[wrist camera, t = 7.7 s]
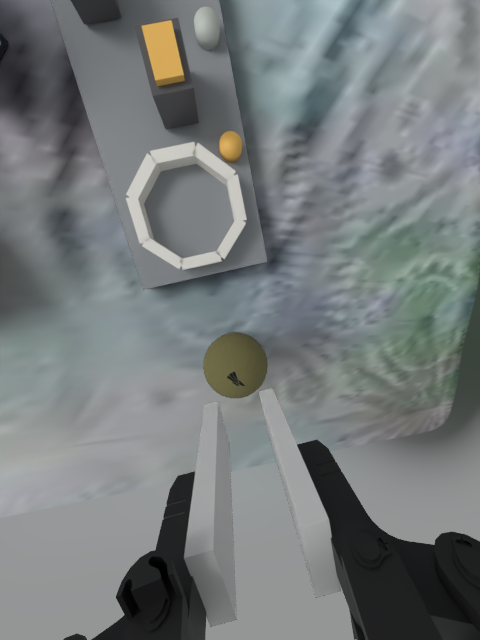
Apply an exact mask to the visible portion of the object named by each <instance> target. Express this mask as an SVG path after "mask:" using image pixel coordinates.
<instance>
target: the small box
mask: <svg viewBox="0 0 480 640" xmlns="http://www.w3.org/2000/svg"><path fill="white" fill-rule="evenodd" d="M7 45H8V41H7V40H6V39H5V38H4V37H3V36H2V34H1V33H0V58H1V56H2V55H3V53H4V51H5V49H6V47H7Z"/></svg>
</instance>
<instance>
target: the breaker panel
mask: <svg viewBox="0 0 480 640" xmlns="http://www.w3.org/2000/svg"><path fill="white" fill-rule="evenodd" d="M117 2H118V6H119V10H120V14H121V18H116V19H111V20H105V21H100V22H95V23H89V24H84V23H83V22H82V20H81V18H80V16H79V15H78V13H77V11H76V9H75V7H74V6H73V4H72V2H71V0H51V3H52V6H53V9H54V13H55V16H56V19H57V22H58V25H59V28H60V31H61V34H62V38H63V41H64V44H65V47H66V50H67V53H68V56H69V59H70V63H71V66H72V69H73V72H74V75H75V78H76V81H77V84H78V88H79V91H80V94H81V97H82V100H83V103H84V106H85V110H86V113H87V116H88V119H89V122H90V125H91V128H92V131H93V135H94V138H95V141H96V144H97V147H98V150H99V153H100V156H101V160H102V163H103V166H104V169H105V172H106V175H107V178H108V181H109V185H110V188H111V191H112V194H113V197H114V200H115V203H116V206H117V210H118V213H119V216H120V219H121V222H122V225H123V228H124V231H125V235H126V238H127V241H128V244H129V247H130V250H131V253H132V256H133V260H134V263H135V266H136V269H137V272H138V275H139V278H140V282H141V285H142V288H143V290H145V289H149V288H153V287H158V286H162V285H167V284H171V283H176V282H180V281H184V280H189V279H193V278H198V277H202V276H207V275H211V274H215V273H220V272H224V271H229V270H233V269H238V268H242V267H246V266H251V265H255V264H260V263H264V262H267V256H266V251H265V246H264V240H263V235H262V229H261V224H260V218H259V213H258V208H257V202H256V197H255V191H254V186H253V181H252V175H251V170H250V164H249V159H248V153H247V148H246V143H245V137H244V132H243V126H242V121H241V116H240V110H239V105H238V99H237V94H236V88H235V83H234V78H233V72H232V67H231V61H230V56H229V51H228V45H227V40H226V34H225V29H224V23H223V18H222V13H221V7H220V2H219V0H117ZM173 18H178V19H179V23H180V28H181V33H182V37H183V42H184V46H185V51H186V55H187V60H188V64H189V69H190V73H191V78H192V82H193V87H194V93H195V100H196V106H197V113H198V119H199V123H195V124H190V125H185V126H180V127H175V128H170V129H165V127H164V124H163V121H162V119H161V116H160V114H159V111H158V109H157V106H156V104H155V101H154V99H153V96H152V92H151V88H150V85H149V81H148V77H147V73H146V69H145V65H144V61H143V57H142V54H141V50H140V46H139V42H138V38H137V34H136V30H135V26H136V25H142V24H147V23H152V22H158V21H163V20H168V19H173Z"/></svg>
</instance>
